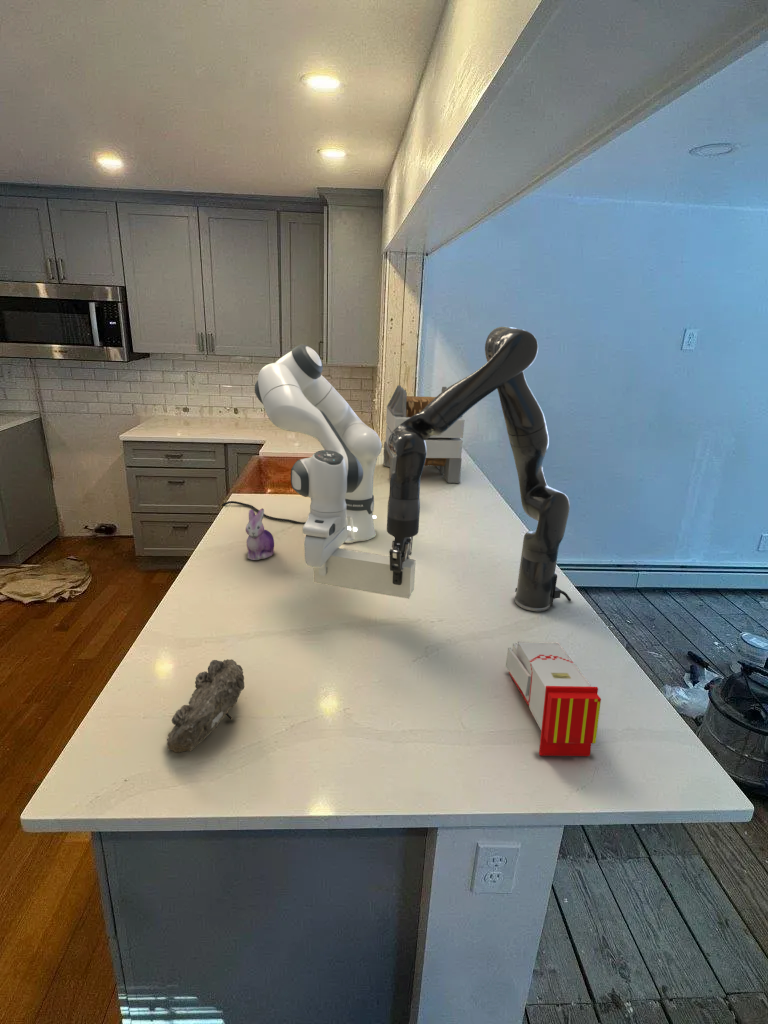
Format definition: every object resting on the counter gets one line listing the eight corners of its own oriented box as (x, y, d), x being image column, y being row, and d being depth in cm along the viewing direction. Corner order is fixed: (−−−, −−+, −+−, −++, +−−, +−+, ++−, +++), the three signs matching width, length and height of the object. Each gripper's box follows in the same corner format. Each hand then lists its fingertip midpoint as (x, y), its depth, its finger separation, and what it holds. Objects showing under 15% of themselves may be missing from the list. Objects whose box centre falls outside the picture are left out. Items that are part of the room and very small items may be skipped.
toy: (554, 624, 127) (610, 694, 97) (548, 679, 130) (602, 763, 100) (500, 623, 126) (541, 693, 97) (496, 678, 129) (534, 763, 100)
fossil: (192, 660, 117) (244, 628, 112) (224, 691, 120) (276, 661, 115) (142, 746, 98) (202, 712, 93) (182, 779, 101) (242, 748, 96)
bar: (313, 582, 142) (313, 552, 140) (320, 574, 147) (320, 545, 144) (409, 598, 136) (411, 567, 134) (413, 589, 141) (415, 559, 138)
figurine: (249, 563, 172) (248, 517, 167) (241, 550, 180) (239, 506, 175) (280, 558, 176) (279, 513, 171) (270, 546, 184) (269, 502, 179)
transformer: (382, 463, 289) (386, 382, 275) (445, 464, 293) (451, 384, 279) (390, 482, 257) (394, 392, 243) (460, 483, 261) (468, 394, 247)
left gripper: (331, 503, 148) (330, 551, 153) (299, 530, 130) (299, 584, 135) (354, 506, 147) (352, 555, 152) (325, 534, 128) (324, 588, 133)
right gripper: (411, 526, 125) (408, 595, 131) (425, 506, 138) (421, 569, 144) (379, 521, 127) (376, 589, 133) (395, 502, 140) (392, 565, 146)
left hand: (327, 569), depth 143 cm, fingers closed on bar, 5 cm apart
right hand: (400, 578), depth 138 cm, fingers closed on bar, 5 cm apart
